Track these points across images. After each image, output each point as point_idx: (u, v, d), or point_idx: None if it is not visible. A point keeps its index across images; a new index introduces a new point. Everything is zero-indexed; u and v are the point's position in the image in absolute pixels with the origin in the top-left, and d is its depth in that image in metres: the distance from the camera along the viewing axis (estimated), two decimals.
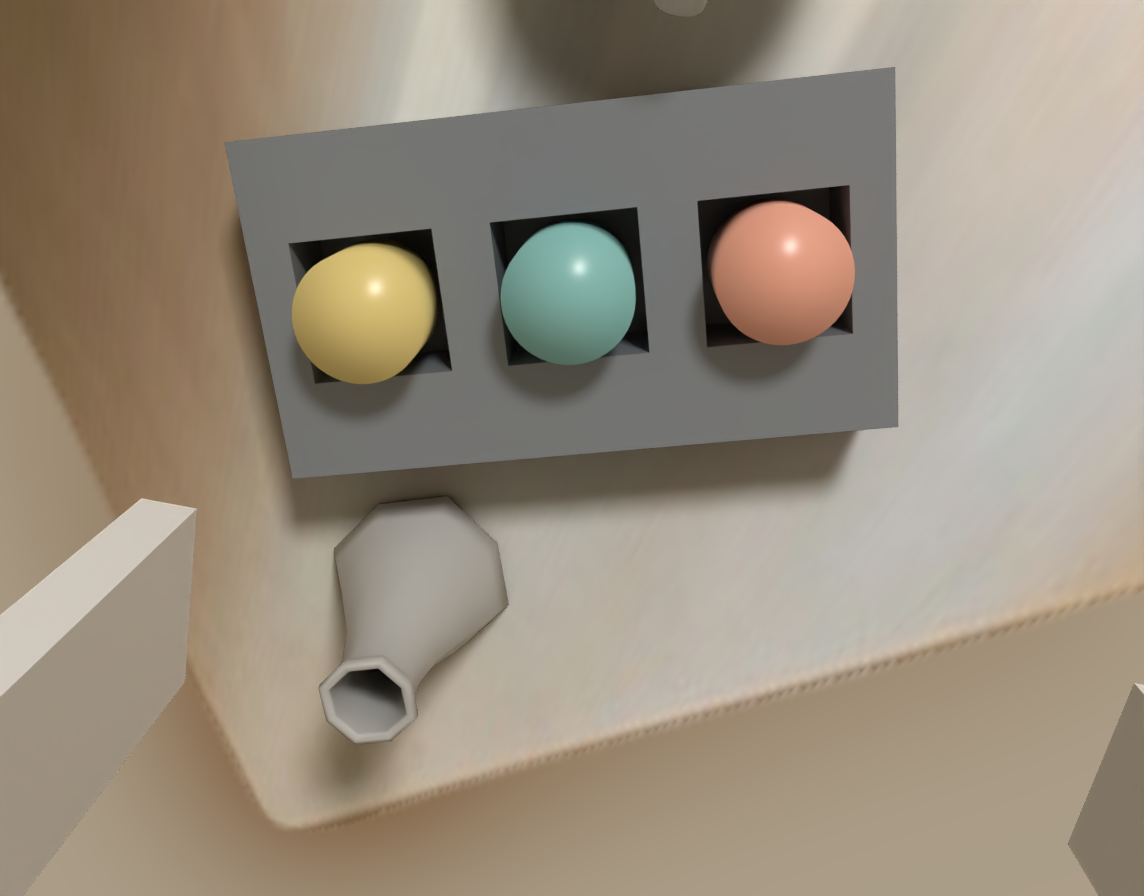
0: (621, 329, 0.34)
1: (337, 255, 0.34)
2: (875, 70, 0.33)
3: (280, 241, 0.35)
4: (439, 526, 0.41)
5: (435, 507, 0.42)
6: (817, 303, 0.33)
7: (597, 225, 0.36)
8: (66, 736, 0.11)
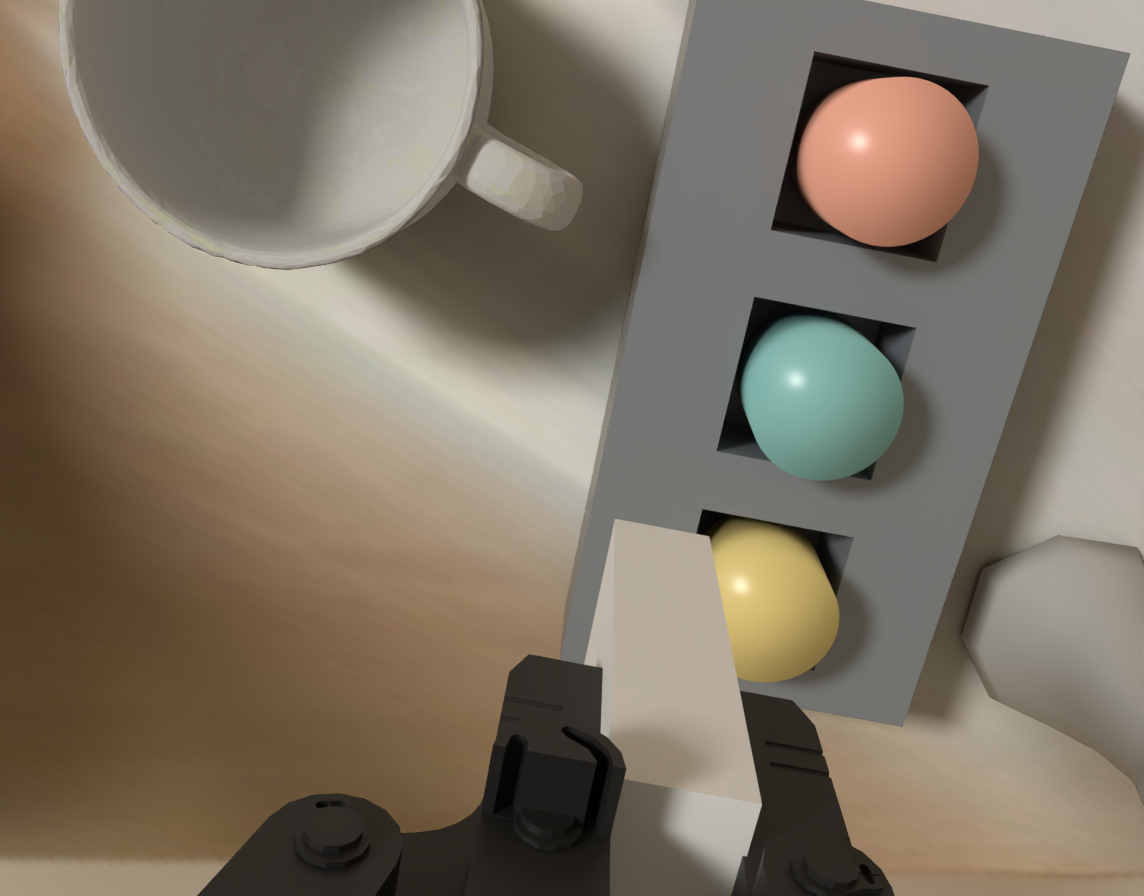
0: (881, 363, 0.29)
1: None
2: None
3: None
4: (1014, 594, 0.36)
5: (990, 587, 0.37)
6: (940, 132, 0.27)
7: (757, 337, 0.33)
8: None
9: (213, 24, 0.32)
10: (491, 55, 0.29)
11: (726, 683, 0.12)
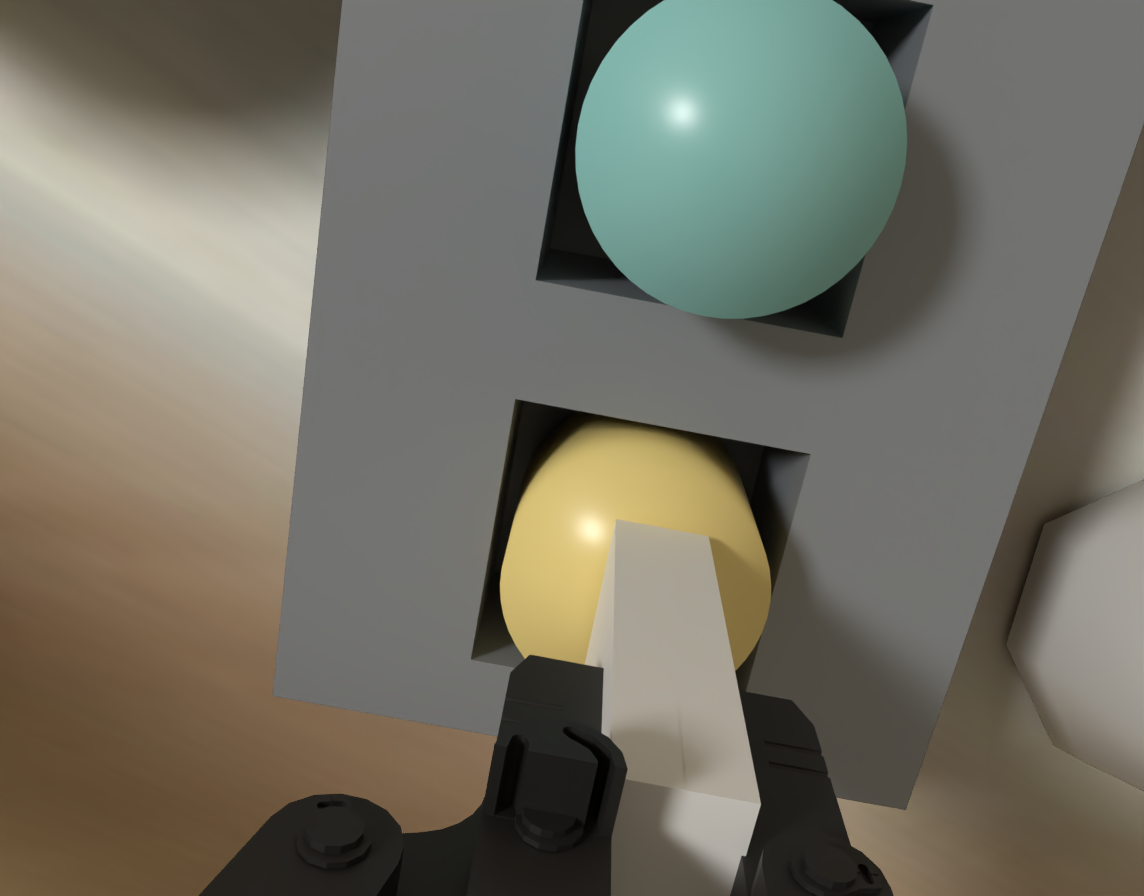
0: (858, 43, 0.13)
1: (502, 585, 0.17)
2: None
3: (463, 670, 0.19)
4: (1107, 567, 0.20)
5: (1060, 555, 0.21)
6: None
7: None
8: None
9: None
10: None
11: (725, 683, 0.12)
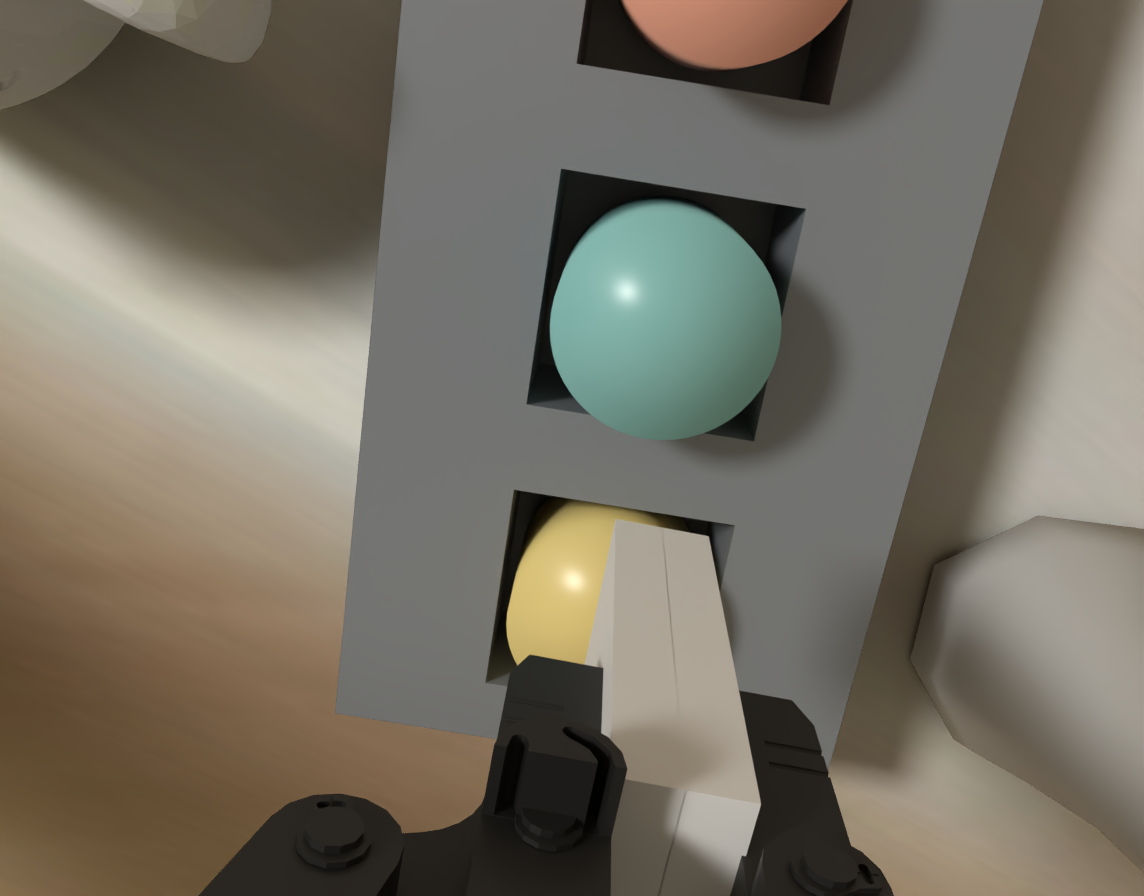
0: (743, 254, 0.19)
1: (507, 625, 0.23)
2: None
3: (479, 691, 0.25)
4: (978, 600, 0.26)
5: (945, 590, 0.27)
6: None
7: (580, 236, 0.22)
8: None
9: None
10: None
11: (725, 683, 0.12)
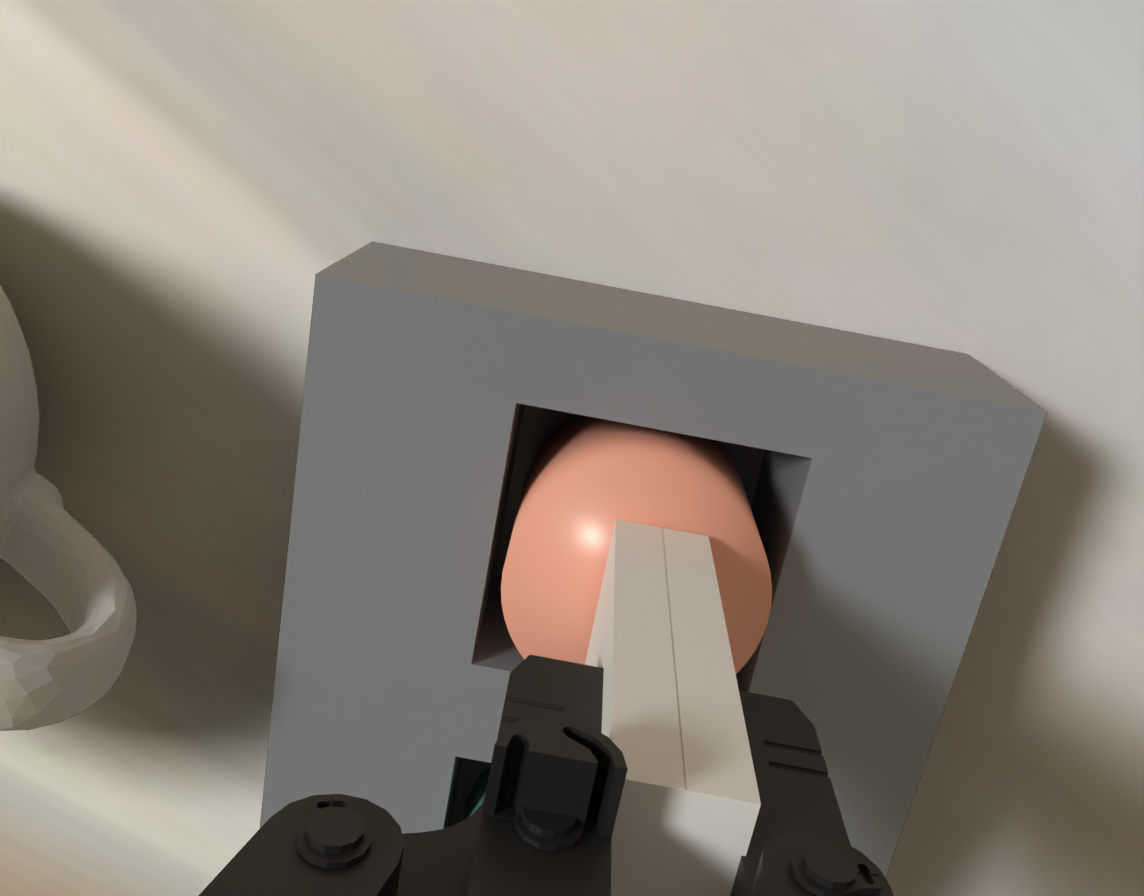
0: None
1: None
2: (314, 311, 0.17)
3: None
4: None
5: None
6: None
7: (482, 786, 0.21)
8: None
9: None
10: None
11: (725, 683, 0.12)
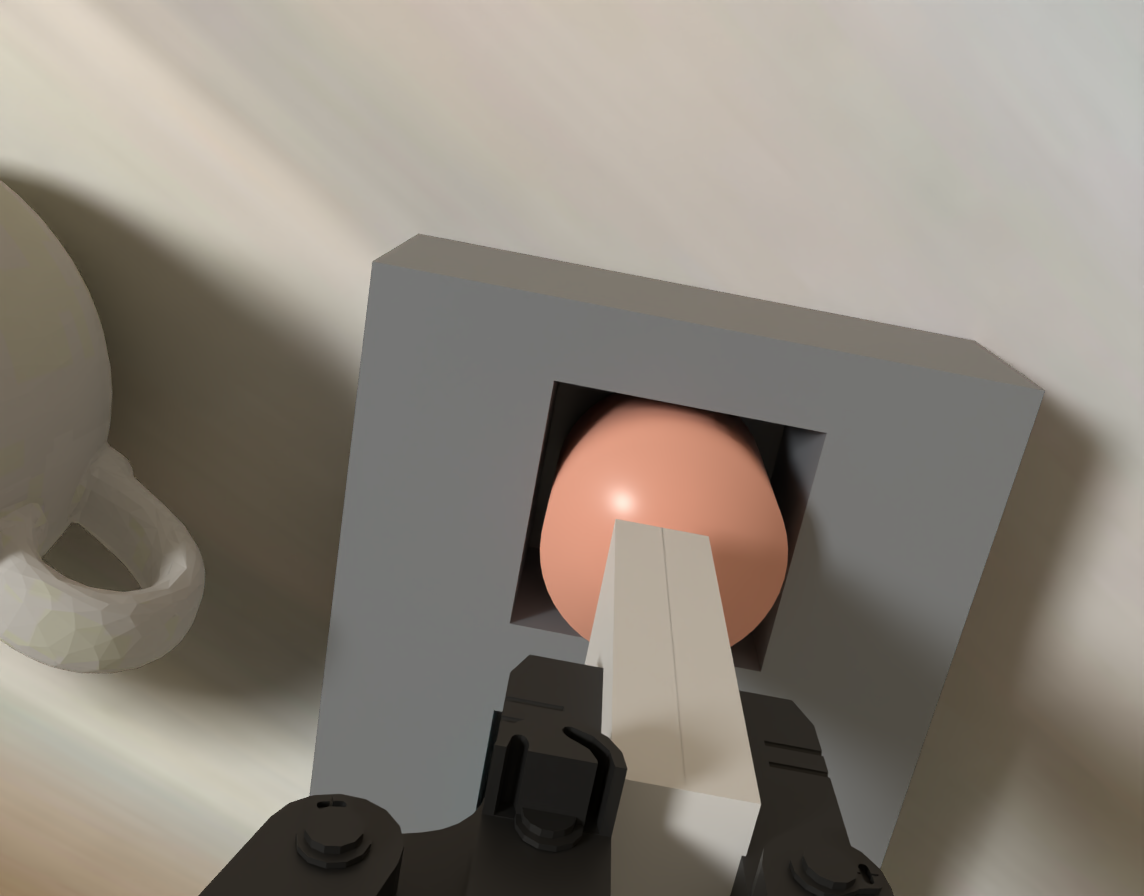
0: None
1: None
2: (370, 295, 0.18)
3: None
4: None
5: None
6: (728, 513, 0.18)
7: None
8: None
9: None
10: (67, 380, 0.19)
11: (725, 683, 0.12)
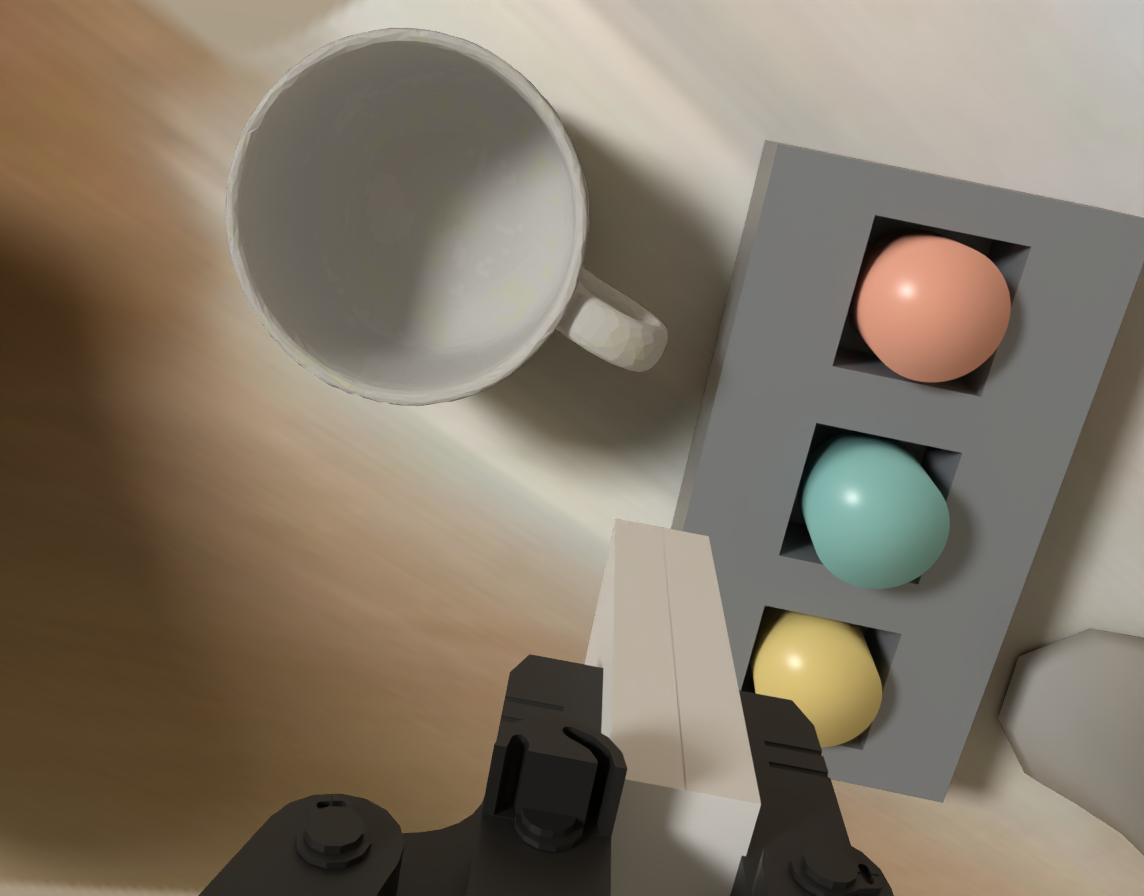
0: (930, 489, 0.33)
1: (758, 689, 0.37)
2: (774, 164, 0.32)
3: None
4: (1048, 683, 0.40)
5: (1025, 674, 0.41)
6: (977, 288, 0.32)
7: (817, 454, 0.36)
8: None
9: (341, 174, 0.36)
10: None
11: (725, 683, 0.12)
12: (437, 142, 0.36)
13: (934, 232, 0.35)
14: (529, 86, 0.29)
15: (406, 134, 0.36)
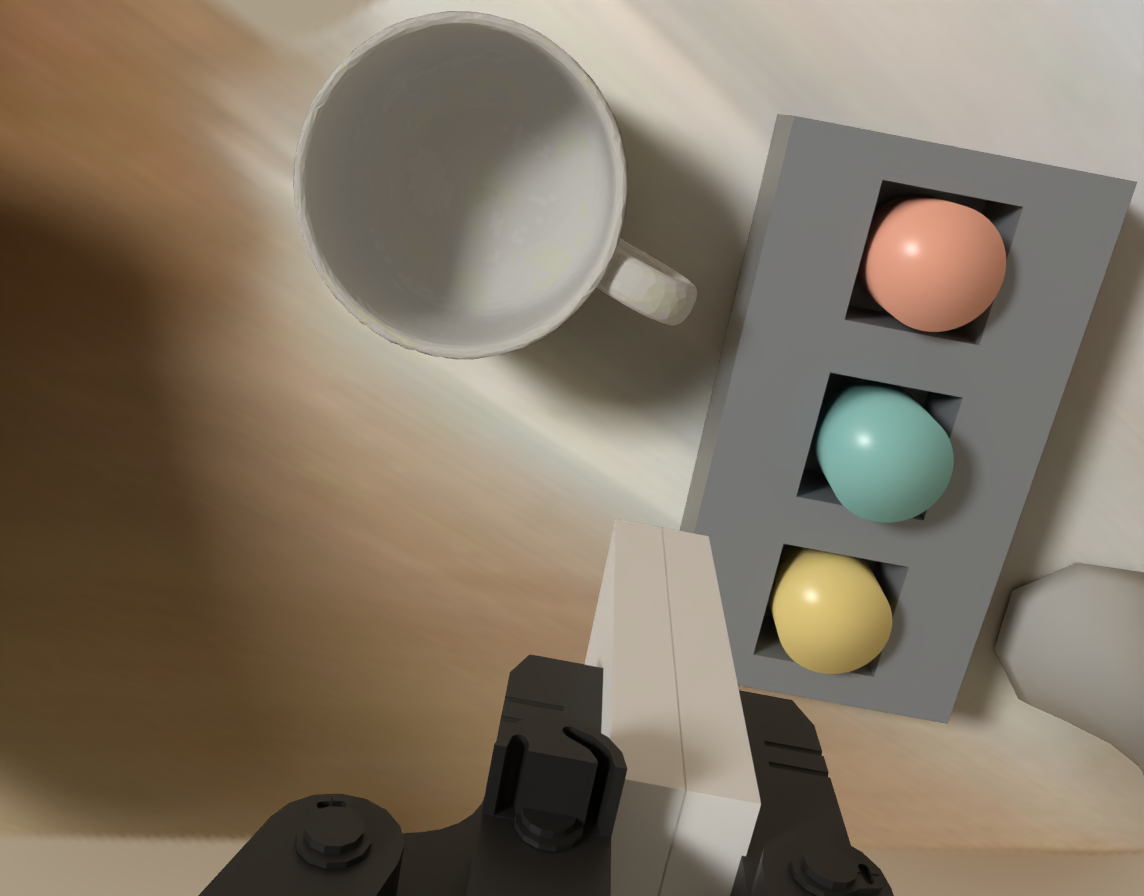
0: (936, 429, 0.36)
1: (778, 620, 0.40)
2: (790, 134, 0.35)
3: (749, 659, 0.42)
4: (1040, 612, 0.43)
5: (1019, 606, 0.44)
6: (976, 244, 0.35)
7: (829, 403, 0.40)
8: None
9: (386, 150, 0.39)
10: None
11: (726, 683, 0.12)
12: (475, 119, 0.39)
13: None
14: (574, 63, 0.32)
15: (446, 112, 0.39)
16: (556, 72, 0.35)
